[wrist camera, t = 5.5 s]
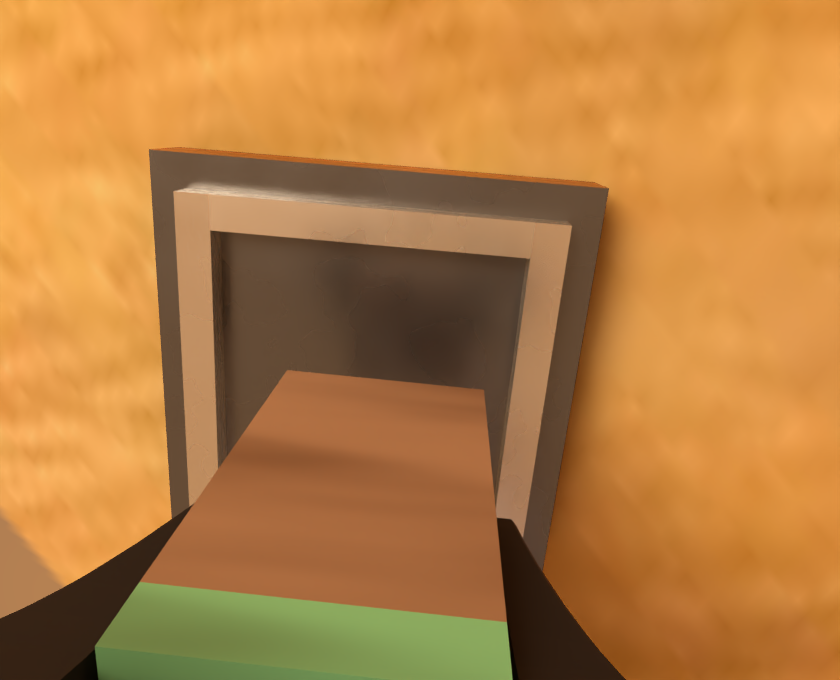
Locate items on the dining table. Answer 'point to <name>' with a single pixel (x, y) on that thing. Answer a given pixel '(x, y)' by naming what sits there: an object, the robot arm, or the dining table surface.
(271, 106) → the dining table surface
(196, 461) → the gray square tray
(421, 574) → the brown and green block
